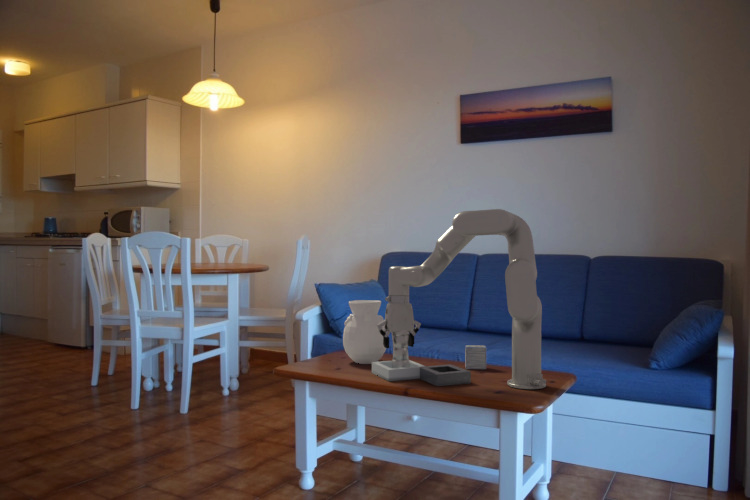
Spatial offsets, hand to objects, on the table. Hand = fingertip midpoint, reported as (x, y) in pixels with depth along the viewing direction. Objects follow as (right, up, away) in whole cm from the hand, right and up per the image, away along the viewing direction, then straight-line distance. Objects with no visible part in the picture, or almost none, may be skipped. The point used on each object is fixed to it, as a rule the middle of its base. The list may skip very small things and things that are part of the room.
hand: (398, 347), depth 211 cm
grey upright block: (+30, -11, +13) cm, 35 cm away
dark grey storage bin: (+15, -10, -9) cm, 21 cm away
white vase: (-13, -11, +26) cm, 31 cm away
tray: (0, -10, 0) cm, 10 cm away
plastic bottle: (+1, -9, 0) cm, 10 cm away
